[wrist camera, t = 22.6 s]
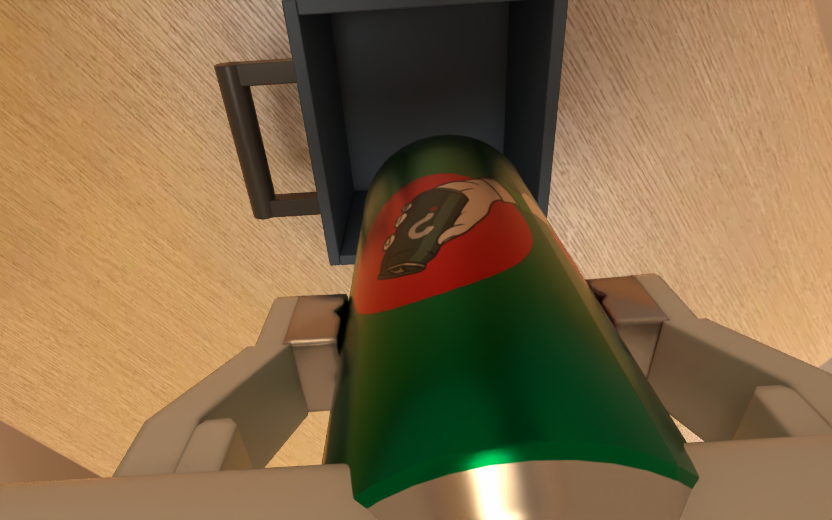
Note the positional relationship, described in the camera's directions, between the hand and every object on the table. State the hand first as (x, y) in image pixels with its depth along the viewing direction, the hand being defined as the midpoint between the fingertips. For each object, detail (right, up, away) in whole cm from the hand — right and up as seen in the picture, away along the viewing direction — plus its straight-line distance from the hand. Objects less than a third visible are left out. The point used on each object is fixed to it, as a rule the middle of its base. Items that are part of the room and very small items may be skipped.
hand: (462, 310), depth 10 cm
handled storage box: (-3, +12, +21) cm, 24 cm away
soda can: (0, +3, +5) cm, 6 cm away
